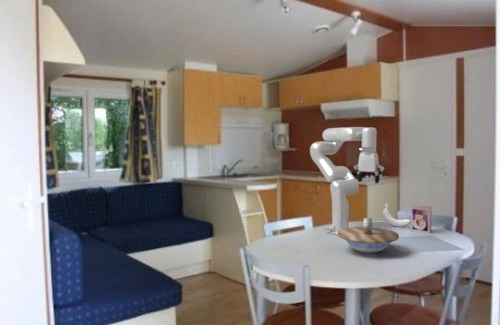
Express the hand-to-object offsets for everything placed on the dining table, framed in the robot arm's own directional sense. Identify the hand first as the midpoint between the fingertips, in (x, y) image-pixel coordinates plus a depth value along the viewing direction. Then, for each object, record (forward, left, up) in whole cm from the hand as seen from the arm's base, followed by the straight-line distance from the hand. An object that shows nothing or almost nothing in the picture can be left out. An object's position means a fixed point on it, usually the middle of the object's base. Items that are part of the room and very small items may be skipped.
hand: (368, 182), depth 232 cm
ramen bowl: (-8, -21, -32) cm, 40 cm away
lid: (-8, -21, -24) cm, 33 cm away
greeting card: (+39, +17, -32) cm, 53 cm away
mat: (+23, -11, -32) cm, 41 cm away
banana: (+31, +34, -32) cm, 56 cm away
